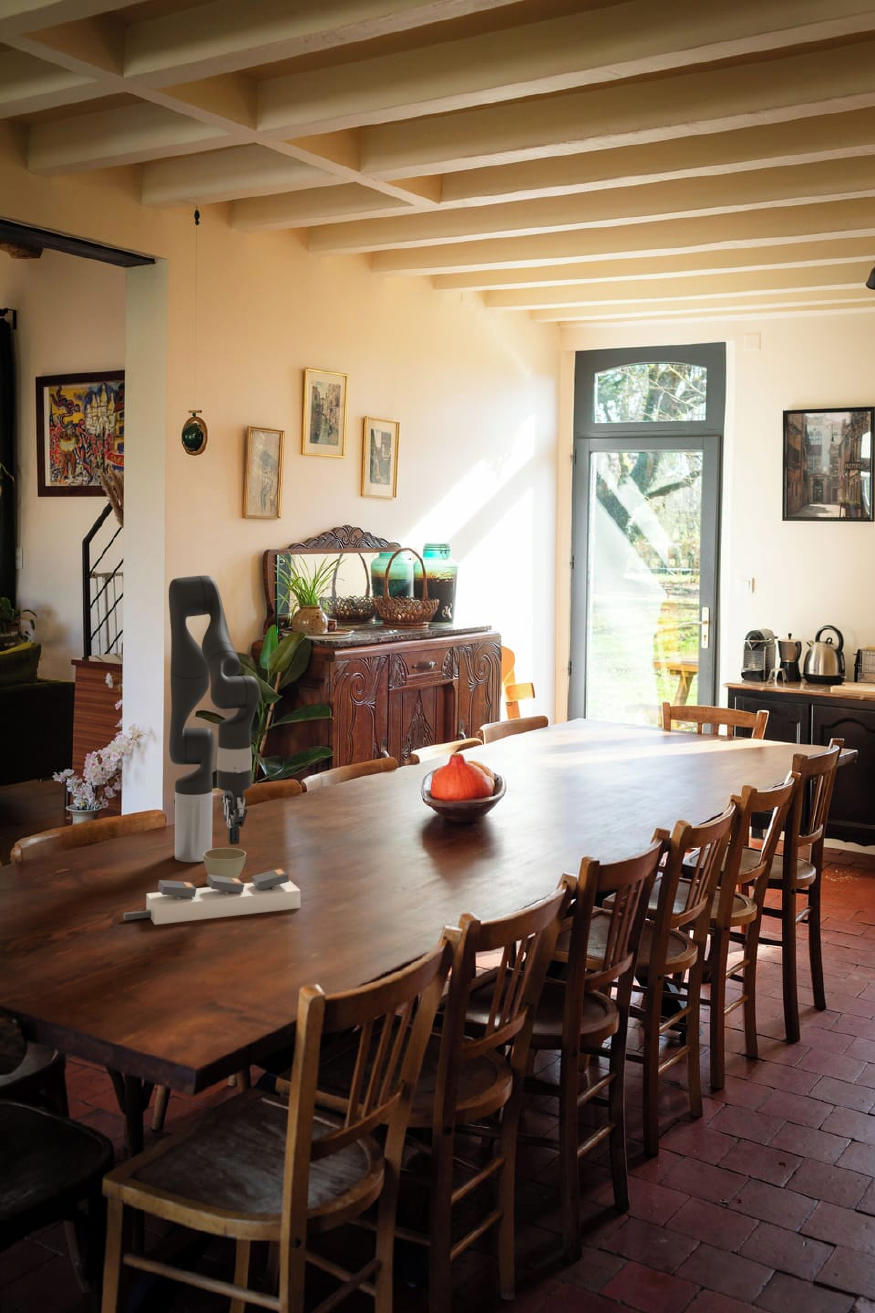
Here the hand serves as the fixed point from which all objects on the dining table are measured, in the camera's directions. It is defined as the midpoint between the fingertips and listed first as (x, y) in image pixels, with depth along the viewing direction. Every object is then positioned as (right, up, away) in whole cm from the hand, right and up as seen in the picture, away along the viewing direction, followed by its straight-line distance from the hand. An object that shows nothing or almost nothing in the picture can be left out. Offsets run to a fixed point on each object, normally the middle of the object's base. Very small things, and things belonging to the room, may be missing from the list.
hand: (233, 843), depth 257 cm
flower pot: (-5, -12, +18) cm, 23 cm away
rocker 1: (-11, -9, -6) cm, 16 cm away
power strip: (-4, -14, -2) cm, 15 cm away
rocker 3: (+8, -9, +3) cm, 12 cm away
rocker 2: (-2, -9, -1) cm, 9 cm away
